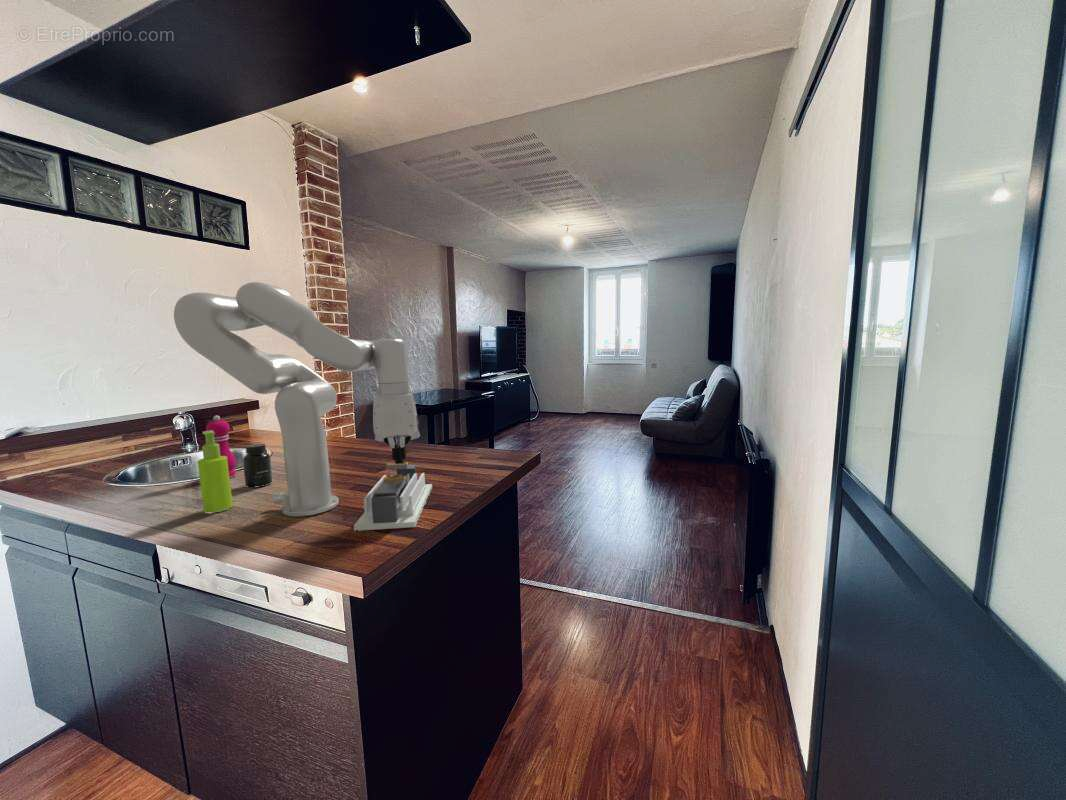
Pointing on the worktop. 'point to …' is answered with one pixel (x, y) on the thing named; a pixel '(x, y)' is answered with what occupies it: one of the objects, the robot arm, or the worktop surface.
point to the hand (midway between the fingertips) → (400, 462)
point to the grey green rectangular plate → (400, 466)
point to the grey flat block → (390, 486)
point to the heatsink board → (395, 504)
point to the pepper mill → (222, 441)
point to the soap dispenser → (214, 476)
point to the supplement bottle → (257, 466)
